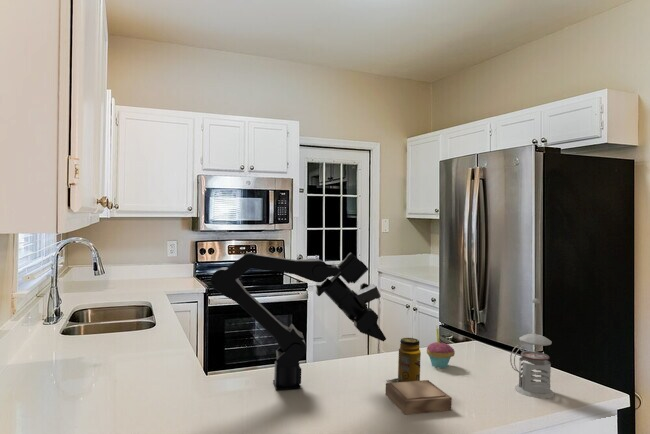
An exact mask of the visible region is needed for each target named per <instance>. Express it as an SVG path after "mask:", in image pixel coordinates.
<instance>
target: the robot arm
mask: <svg viewBox="0 0 650 434" xmlns="http://www.w3.org/2000/svg"><path fill="white" fill-rule="evenodd" d="M251 269H257V270H263V271H264V270H265V271H271V272H277V273H284V274H290V275H294V276H295V275H296V276H297V277H301V278H303V279H306V280H309V281H312V282H315V283H321V284H316V285H315V287H316V288H315V289H316V291H315V293H316V295H317V296H318V297H320V296H322V295H323V294H325V295H326V296H327V297H328V298H329V299H330V300H331V302H333V303H334V304H335V305H336V306H337V308H339V310H341V312H343V314H344V315H345V316H346V317H347V318H348V319H349V320H350V321H351V323H353V326H354V327H355V328H356V329H357V330H358V331H359V332H360V333H361V334H364V335H366V336H369V337H372V338H374V339H376V340H378V341H381V342H385V341H386V340H387V337H386V336H385V334H384V333H383V331H382V329H381V328H380V326H379V325H378V320H379V314H377V313H376V312H375V310H373V309H372V308H369V307H368V304H367V303H370V302H372V301H374V300H378V299H380V298H381V293H380V291H379V289H378V286H377V285H376V284H373V283H372V284H370V285H369V284H368V283H366V282H363V283H361V284H360V286H359V288H360V289H358V291H354V290H353V289H351V288H350V287H349V284H356V283H357V282H358V281H359V279H361V278H362V277H363V276H364V275H365V274H366V273H367V272H368V270H369V267H367V265H366V264H365V263H364V262H363V261H362V260H360V259H359V258H358V257H357V256H356V255H354V253H352V252H349V253H348V254H347V255H346V257H345V258H344V259H342V261H341V262H340V263H339V264H338V265H335V264H328V263H327V262H325V261H323V260H322V259H319V258H308V259H303V258H302V259H291V258H285V257H280V256H279V257H278V256H271V255H265V254H259V253H254V252H252V251H251V252H250V251H249V252H246V253H245V254H243V256H241V257H239V258H238V259H237V260H235V261H234V262H233V263H231V264H230V265H228V266H227V267H226V266H225V267H223V266H222V267H219V268H218V269H216V270H215V271H214V273H213V274H212V275H211V277H210V285H211V287H212V289H214V290H215V291H217V292H218V293H219V294H221V295H223V296H224V297H226V298H228V299H229V300H231V301H233V302H235V303H237V304H238V305H239V306H240V307H241V308H242V309H243V310H244V311H245V312H246V313H247V314H248V315H249V316H250V317H251V318H252V319H253V320H255V321H256V322H257V323H258V324H259V325H260V326H261V327H262V328H263V329H265V330H266V331H267V333H268V334H270V336H272V337H273V338H274V340H275V342H276V343H277V344H278V346H279V347H278V348H277V349H276V350H275V355H276V360H275V361H274V375H273V377H274V378H273V380H272V383H273V385H274V388H275V390H276V391H281V390H283V391H285V390H286V391H287V390H296V389H298V390H299V389H301V384H302V367H301V366H300V360H301V359H302V358H303V357H304V356H305V355H306V353H307V345H306V342H305V338H304V335H303V332H302V331H300V330H298V329H297V328H296V327H295V325H294V324H293V323H290V325H289V326H287V325H286V324H284V323H282V322H281V321H280V320H278V319H277V318H276V317H275V315H273V314H272V313H271V312H270V311H269V310H268V309H267V308H266V307H265V306H264V305H263V304H262V303H261V302H259V300H257V299H256V298H255V297H254V296H253V295H252V294H251V293H250V292H249V291H248V290H247V289H246V288H245V286H244V285H243V283H242V282H241V280H240V279H239V278H241V276H243V275H244V274H245V273H246V272H247V271H249V270H251ZM340 277H342V279H343V280H344V281H345V282H346V283H347V284H348V285H347V284H346V283H345V282H344V281H343V280H342V279H341V278H340Z"/></svg>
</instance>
